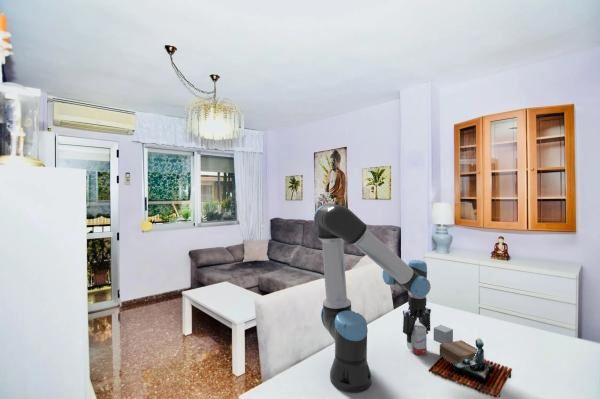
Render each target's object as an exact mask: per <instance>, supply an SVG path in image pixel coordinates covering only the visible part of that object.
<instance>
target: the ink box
mask: <svg viewBox="0 0 600 399" xmlns="http://www.w3.org/2000/svg"><path fill="white" fill-rule="evenodd" d="M412 335H413V336H414V344H413V351H412V352H413V353H415V355H416V356H422V355H427V353H428V350H427V347H428V346H427V341H428V340H427V334H426V327H425V326H424V325H422V324H421V323H420V322H419V320H418V319H417V320H416V321H415V325H414V329H413V333H412ZM406 346H407V347H408V342H407V341H406Z"/></svg>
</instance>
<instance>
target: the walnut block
mask: <svg viewBox="0 0 600 399" xmlns="http://www.w3.org/2000/svg"><path fill="white" fill-rule="evenodd" d="M477 350H479V349H478V348H476V347H474V346H473V345H470V344H469V343H467V342H466V341H463V340H462V339H460V340H455V341H453V342H450V343H445V344H441V343H439V357H440V358H442V357H443V358H444V359H443V358H442V359H443V360H445V359H446V360H447V361H446V360H445V361H446V362H448V361H449V362H450V363H449V362H448V363H449V364H451V363H452V364H453V365H452V364H451V365H452V366H454V364H456V363H461V362H462V361H463V360H464V359H471V358H473V357H474V356H475V354H476V352H477Z"/></svg>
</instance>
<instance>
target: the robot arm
mask: <svg viewBox="0 0 600 399" xmlns="http://www.w3.org/2000/svg"><path fill="white" fill-rule="evenodd" d="M313 223H314V225H315V227H316V228H317V229H316V230H317V238H318V240H319V241H320V242H321V244H322V257H323V259H322V260H323V261H322V262H323V274H324V288H325V299H324V300H323V301H322V309H321V310H320V318H321V323H322V325H323V326H324V328H325V329H326V330H327V333H329V334H330V336H331V337H332V338H333V340H334V358H333V360H332V361H333V362H332V364H331V365H332V366H331V368H330V370H329V380H330V382H331V384H332V385H333V386H334V387H336V388H337V389H339V390H341V391H343V392H347V393H361V392H364V391H366V390H368V389H369V388H370V387H371V386H372V373H371V370H370V366H369V363H368V322H367V320H366V318H365V317H364V316H363V315H362V314H361V313H359V312H356V311H353V310H352V301H351V300H350V299H349V298H348V297H347V296H348V294H347V281H346V268H345V267H346V265H345V252H344V250H345V249H344V242H346V243H347V244H348V245H350V246H353V245H354V246H355V247H356V248H357V249H359V251H361V252H362V253H364V255H365V256H367V257H368V258H369V259H370V260H372V262H374V263H375V264H376V265H377V266H379V267H380V269H382V278H383V282H384V283H385V284H386V286H387V285H389V286H395V285H396V286H397V287H399V288H401V289H403V290H405V291H407V293H408V296H407V303H408V309H407V310H403V311H402V314H403V318H402V320H403V323H402V324H403V325H402V333H404V334H405V335H406V343H407V342H408V346H407V349H408V350H410V351H411V352H413V344H414V336H413V335H412V333H413V329H414V325H415V321H416V320H417V321H419V322H420V323H421V324H422V325H424V326H425V327H426V335H428V334H429V332H430V331H431V312H432V309H431V308H428V307H427V295H428V294H429V293H430V291H431V283H430V280H429V279H428V265H427V263H426V261H423V260H421V259H420V260H419V259H411V260H409V261H408V264H407V263H406V262H405V261H404V260H403V259H401V257H399V256H398V255H397V254H396V253H395V252H394V251H392V249H390V248H389V246H387V245H385V243H383V242H382V241H381V240H380V239H379V238H377V236H375V235H374V234H373V233H372V232H371V231H370V230H369V229H368V225H367V224H366V223H365V222H364V221H363V220H361V218H359V216H358V215H356V214H355V213H354V212H353V211H352V210H350V209H349V208H348V207H346V206H345V205H344V206H343V205H341V204H334V203H332V204H331V203H328V204H326V203H325V204H324V205H321V206H319V207H318V208H317V209H316V211H315V213H314V216H313Z"/></svg>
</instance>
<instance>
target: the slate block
mask: <svg viewBox="0 0 600 399" xmlns="http://www.w3.org/2000/svg"><path fill="white" fill-rule="evenodd" d="M433 341H434V342H437V343H439V344H445V343H450V342H454V329H453V328H451V327H448V326H446V325H443V324H439V325H437V326H435V327H433Z"/></svg>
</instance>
